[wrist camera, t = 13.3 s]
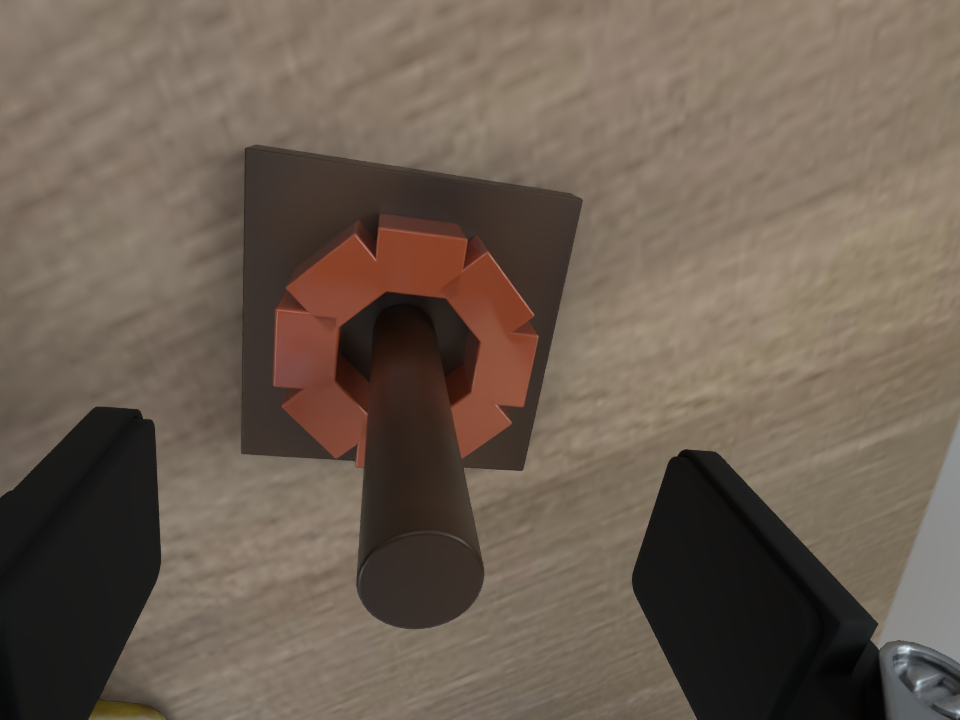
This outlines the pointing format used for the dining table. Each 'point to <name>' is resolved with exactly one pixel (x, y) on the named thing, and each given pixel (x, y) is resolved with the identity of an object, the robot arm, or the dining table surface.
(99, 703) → the mug
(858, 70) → the dining table surface
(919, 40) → the dining table surface
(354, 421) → the ring
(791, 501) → the dining table surface
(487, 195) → the post
